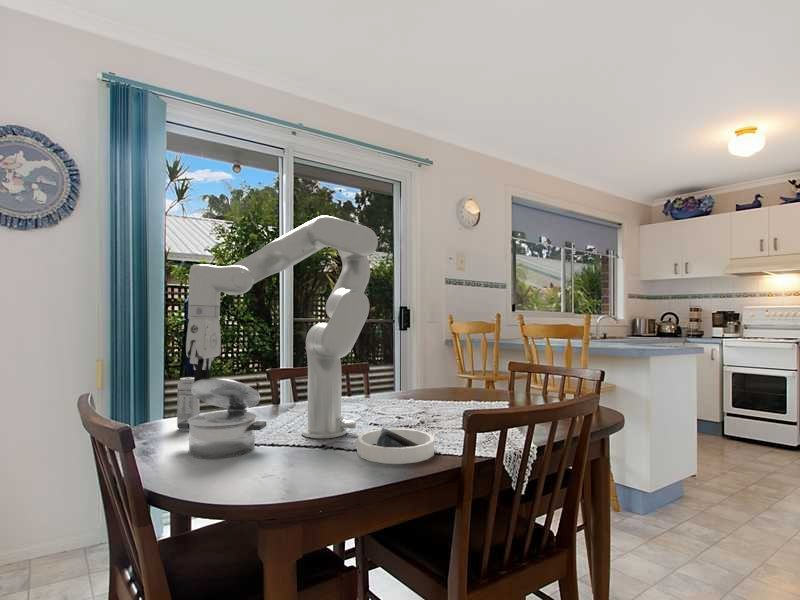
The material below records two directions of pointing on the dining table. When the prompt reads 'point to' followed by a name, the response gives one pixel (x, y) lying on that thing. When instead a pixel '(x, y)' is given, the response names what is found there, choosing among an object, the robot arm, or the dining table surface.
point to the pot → (221, 434)
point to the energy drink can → (186, 401)
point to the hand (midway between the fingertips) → (201, 385)
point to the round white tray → (394, 453)
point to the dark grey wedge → (393, 440)
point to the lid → (225, 393)
